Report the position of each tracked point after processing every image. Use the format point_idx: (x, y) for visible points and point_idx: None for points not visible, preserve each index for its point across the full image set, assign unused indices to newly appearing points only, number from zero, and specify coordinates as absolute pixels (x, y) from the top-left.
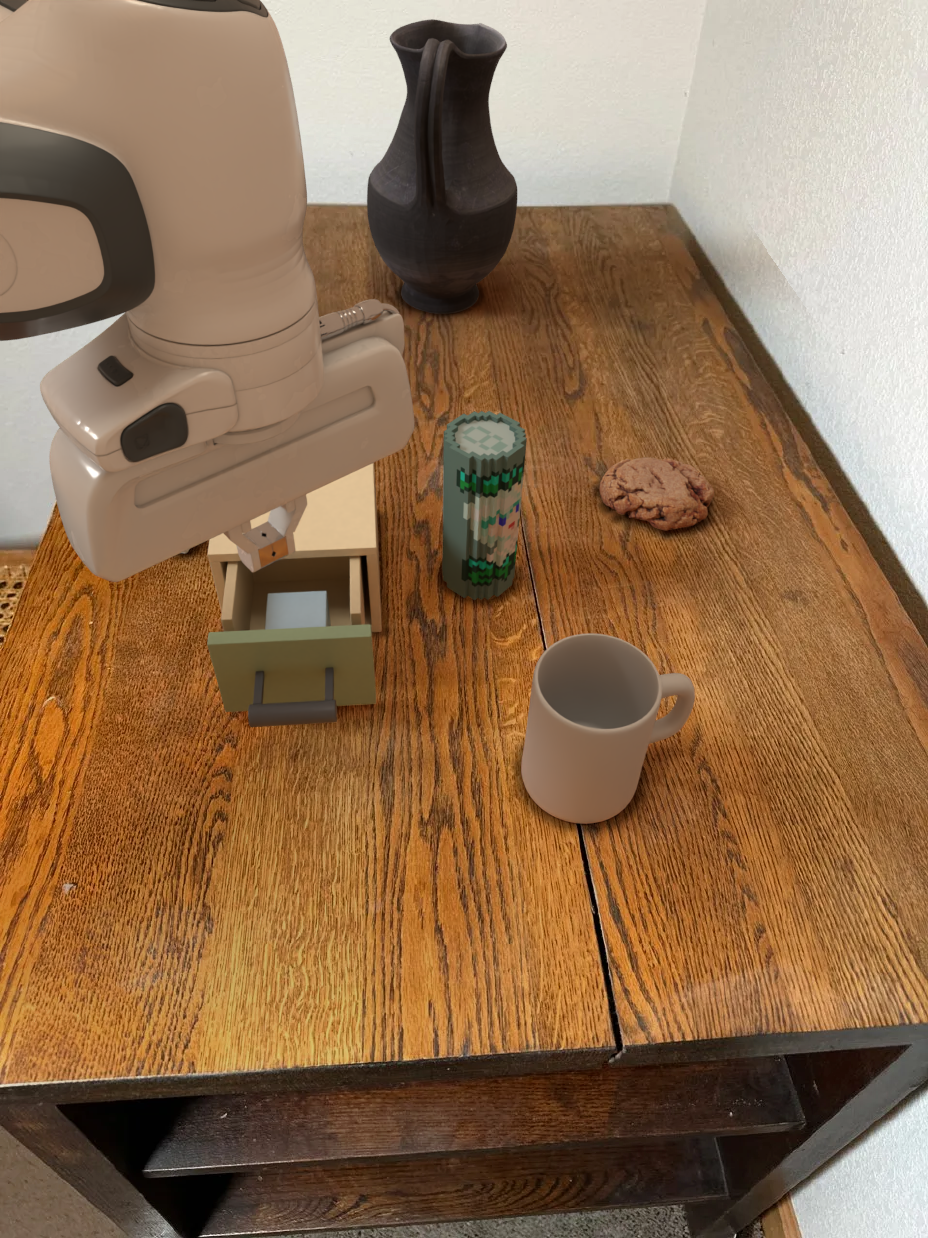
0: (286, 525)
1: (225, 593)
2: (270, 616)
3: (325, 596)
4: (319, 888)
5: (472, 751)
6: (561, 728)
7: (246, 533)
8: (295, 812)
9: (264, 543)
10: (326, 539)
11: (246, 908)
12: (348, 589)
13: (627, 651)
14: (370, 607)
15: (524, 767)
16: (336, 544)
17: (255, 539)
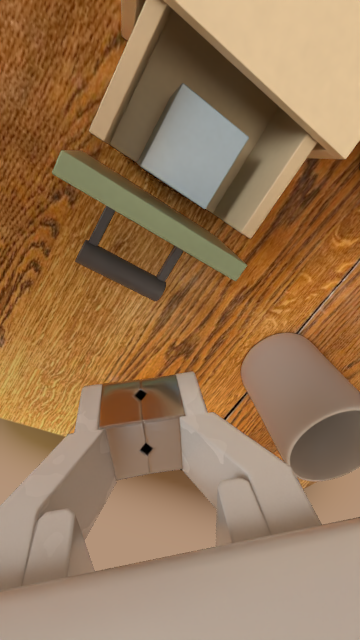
0: (201, 486)
1: (116, 74)
2: (163, 134)
3: (241, 148)
4: (85, 353)
5: (238, 317)
6: (282, 456)
7: (109, 430)
8: (94, 295)
9: (133, 472)
10: (309, 86)
11: (30, 343)
12: None
13: None
14: None
15: (252, 364)
16: (311, 110)
17: (119, 457)
